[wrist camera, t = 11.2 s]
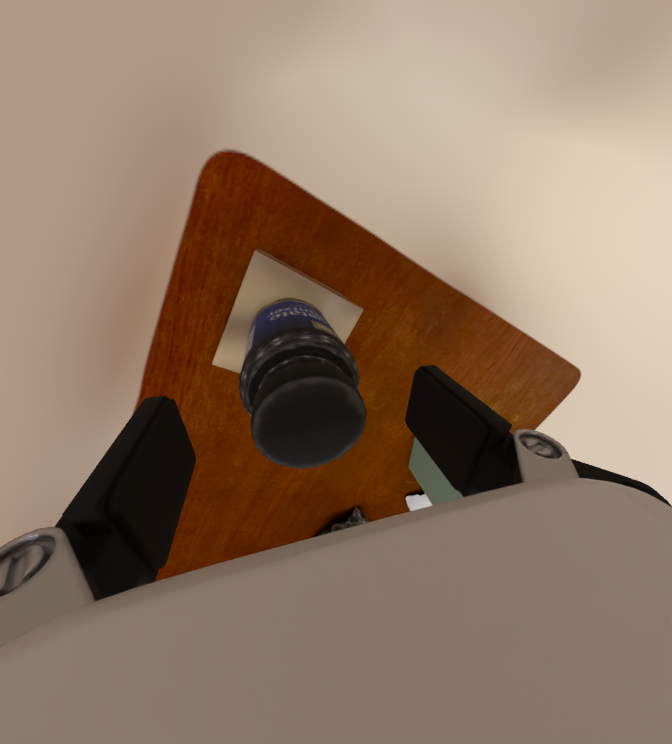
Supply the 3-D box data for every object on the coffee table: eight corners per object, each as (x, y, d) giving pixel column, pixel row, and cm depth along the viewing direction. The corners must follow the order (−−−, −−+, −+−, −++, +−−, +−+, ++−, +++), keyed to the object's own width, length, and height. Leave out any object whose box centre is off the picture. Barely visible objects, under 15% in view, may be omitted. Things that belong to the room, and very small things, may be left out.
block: (257, 247, 22) (254, 249, 16) (341, 293, 26) (364, 309, 20) (224, 334, 25) (211, 364, 19) (304, 364, 28) (314, 397, 22)
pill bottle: (335, 304, 19) (405, 367, 9) (319, 374, 21) (362, 477, 12) (251, 289, 17) (234, 348, 7) (245, 367, 19) (227, 485, 10)
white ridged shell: (454, 493, 51) (474, 519, 46) (436, 512, 53) (453, 539, 48) (415, 484, 46) (432, 513, 41) (396, 505, 47) (411, 535, 43)
